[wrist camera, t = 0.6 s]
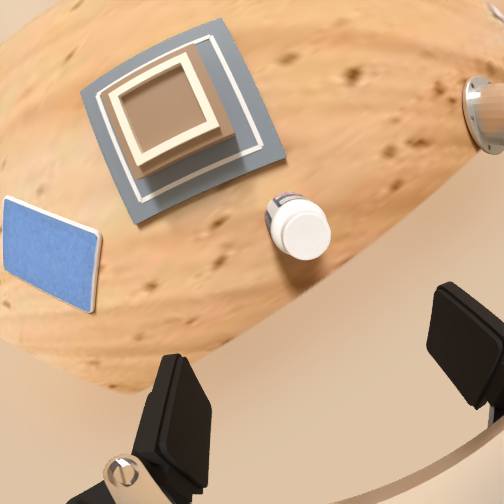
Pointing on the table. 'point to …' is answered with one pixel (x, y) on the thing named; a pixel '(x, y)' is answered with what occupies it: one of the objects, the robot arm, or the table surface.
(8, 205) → the blue rectangular panel
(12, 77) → the table surface
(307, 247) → the pill bottle
